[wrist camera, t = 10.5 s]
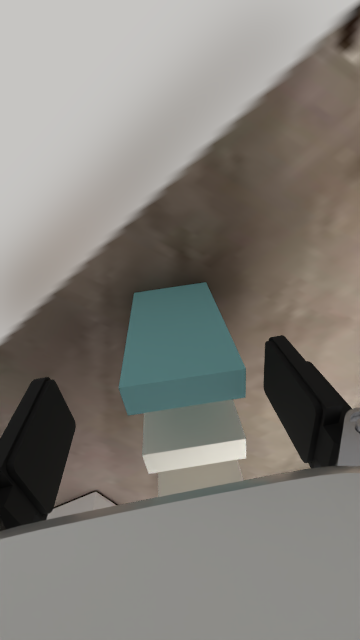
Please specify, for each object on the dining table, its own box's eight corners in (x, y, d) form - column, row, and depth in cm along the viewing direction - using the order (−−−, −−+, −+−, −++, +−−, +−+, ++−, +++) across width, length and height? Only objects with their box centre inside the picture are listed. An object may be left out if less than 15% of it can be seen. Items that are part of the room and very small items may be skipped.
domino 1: (138, 312, 19) (127, 415, 11) (134, 292, 18) (118, 388, 10) (207, 302, 19) (245, 397, 11) (205, 282, 18) (245, 368, 10)
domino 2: (150, 360, 21) (148, 473, 13) (147, 344, 20) (142, 455, 12) (212, 351, 21) (246, 458, 13) (210, 334, 20) (245, 438, 12)
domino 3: (160, 399, 23) (162, 515, 15) (157, 386, 22) (158, 501, 15) (215, 390, 23) (245, 501, 15) (214, 377, 22) (245, 487, 15)
